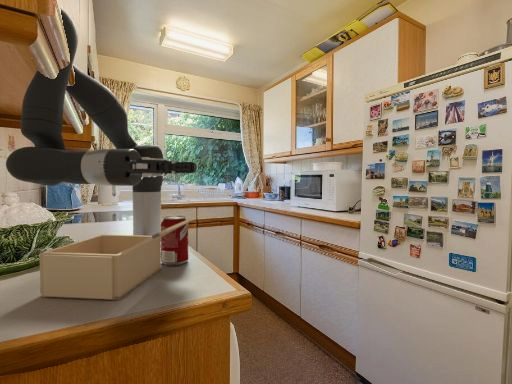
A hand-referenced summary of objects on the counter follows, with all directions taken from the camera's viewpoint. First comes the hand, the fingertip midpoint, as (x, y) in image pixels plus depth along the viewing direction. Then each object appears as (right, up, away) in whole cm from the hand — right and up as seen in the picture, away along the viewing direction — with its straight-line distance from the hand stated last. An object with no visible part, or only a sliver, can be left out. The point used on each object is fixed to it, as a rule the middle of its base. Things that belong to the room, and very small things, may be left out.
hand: (195, 167), depth 55 cm
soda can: (-9, -23, +16) cm, 29 cm away
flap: (-11, -16, +2) cm, 19 cm away
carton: (-19, -24, +3) cm, 30 cm away
